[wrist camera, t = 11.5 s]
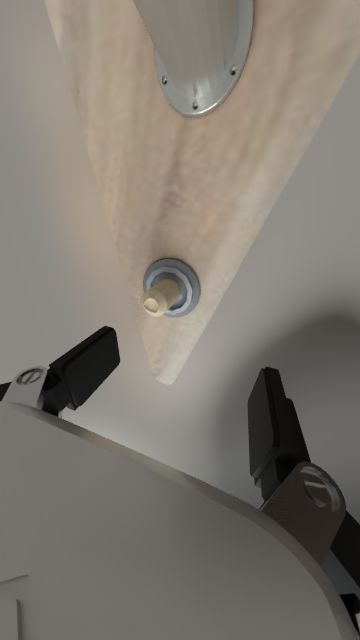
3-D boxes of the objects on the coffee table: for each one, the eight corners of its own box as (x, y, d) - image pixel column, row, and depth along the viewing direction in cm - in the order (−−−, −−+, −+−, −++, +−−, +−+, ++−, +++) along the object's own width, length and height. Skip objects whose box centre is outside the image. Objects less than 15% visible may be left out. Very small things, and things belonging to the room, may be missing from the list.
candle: (159, 298, 41) (138, 316, 33) (159, 276, 38) (136, 289, 30) (180, 302, 40) (164, 322, 32) (182, 280, 37) (165, 295, 29)
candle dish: (143, 255, 38) (139, 256, 37) (203, 263, 35) (202, 264, 33) (145, 310, 45) (142, 313, 43) (196, 321, 42) (194, 324, 40)
